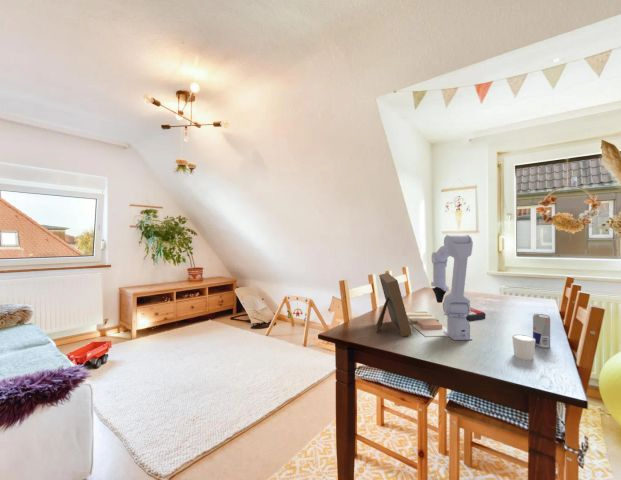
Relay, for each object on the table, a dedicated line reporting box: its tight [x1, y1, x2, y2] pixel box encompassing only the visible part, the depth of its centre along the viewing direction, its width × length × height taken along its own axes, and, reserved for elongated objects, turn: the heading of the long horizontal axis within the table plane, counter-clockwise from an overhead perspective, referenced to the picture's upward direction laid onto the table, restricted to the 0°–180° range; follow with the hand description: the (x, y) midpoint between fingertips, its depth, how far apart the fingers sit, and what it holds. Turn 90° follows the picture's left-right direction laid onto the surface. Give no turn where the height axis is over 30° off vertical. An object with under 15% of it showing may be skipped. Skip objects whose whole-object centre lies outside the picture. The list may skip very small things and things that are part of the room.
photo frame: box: [375, 272, 413, 338], centre depth 137 cm, size 15×22×25 cm
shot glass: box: [511, 334, 536, 361], centre depth 105 cm, size 7×7×7 cm
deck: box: [406, 311, 440, 325], centre depth 150 cm, size 15×13×2 cm
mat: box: [411, 324, 449, 338], centre depth 134 cm, size 16×14×1 cm
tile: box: [416, 320, 443, 330], centre depth 138 cm, size 8×9×2 cm
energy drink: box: [532, 313, 551, 349], centre depth 114 cm, size 5×5×12 cm
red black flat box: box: [466, 307, 487, 322], centre depth 155 cm, size 11×4×15 cm
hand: (439, 302), depth 148 cm, fingers closed
